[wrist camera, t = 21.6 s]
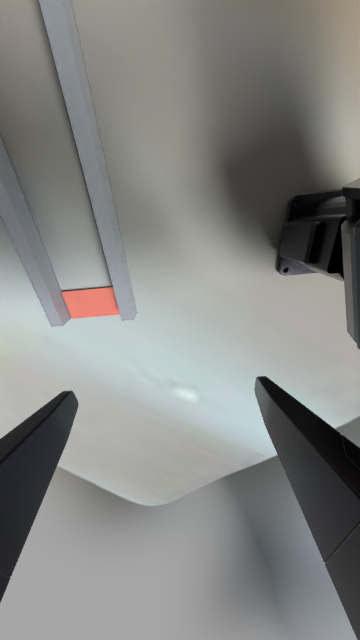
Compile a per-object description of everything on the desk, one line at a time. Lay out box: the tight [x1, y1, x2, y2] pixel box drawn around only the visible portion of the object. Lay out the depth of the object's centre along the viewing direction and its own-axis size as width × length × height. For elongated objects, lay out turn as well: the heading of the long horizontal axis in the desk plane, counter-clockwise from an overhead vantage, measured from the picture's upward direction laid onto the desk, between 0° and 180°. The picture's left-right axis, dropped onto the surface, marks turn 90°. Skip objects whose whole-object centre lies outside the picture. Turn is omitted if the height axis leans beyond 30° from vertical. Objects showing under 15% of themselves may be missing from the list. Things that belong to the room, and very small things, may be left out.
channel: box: [0, 0, 137, 327], centre depth 14 cm, size 8×24×2 cm, turn 5°
